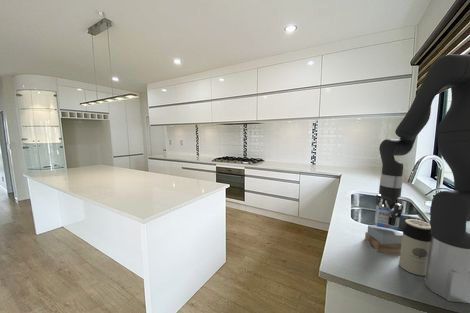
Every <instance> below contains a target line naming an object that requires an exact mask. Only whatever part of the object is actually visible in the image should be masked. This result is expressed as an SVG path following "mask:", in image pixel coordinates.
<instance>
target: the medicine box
mask: <svg viewBox="0 0 470 313" xmlns="http://www.w3.org/2000/svg"><path fill="white" fill-rule="evenodd" d="M391 210H394V208H393V209H391ZM392 214H393V211H392ZM397 215H398V213H397ZM374 216H375V217H374V225H376V226H378V227H383V228H389V229H394V230H396V231H398V230H399V226H400V218H401V217H400V218H396V220H395V225H394V226H392V225H389V224H388V221H389V212H388V211H387V207H385V206H380V205H376V204H375V214H374Z"/></svg>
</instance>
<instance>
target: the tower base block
mask: <svg viewBox="0 0 470 313" xmlns="http://www.w3.org/2000/svg"><path fill="white" fill-rule="evenodd" d="M367 232H368V231H366V232H365V237H364V240H365V241H366V242H367V243H368V244H370V246H371V247H372V248H373V249H374V250H375V251H377V252H378V253H390V254H400V252H401V244H381V243H380V242H378V241H377V240H376V239H374V238H373V237H372V236H370V235H369V234H368V233H367Z"/></svg>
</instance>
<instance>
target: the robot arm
mask: <svg viewBox="0 0 470 313" xmlns="http://www.w3.org/2000/svg"><path fill="white" fill-rule="evenodd" d="M419 86H420V87H419V88H418V90H417V93H416V95H415V98H414V100H413V101H412V103H411V106H410V107H409V109H408V111H407V113H406V114H405V115H404V117H403V118H402V119H401V121H400V123H398V125H397V127H396V129H395V130H394V132H395V133H394V134H395V135H396V136H397V137H398V138H386V139H384V140H382V141H381V143H380V144H379V150H378V151H379V154H380V160H381V164H382V167H381V176H380V180H379V189H378V194H376V196H375V197H376V198H375V203H376V204H375V206H376V205H380V206H385V207H387V211H388V212H389V221H388V224H389V225H392V226H394V225H395V220H396V218H401V217H402V213H403V210H404V204H400V203H399V200H398V199H399V198H401V196H402V190H403V188H402V187H403V174H404V163H403V162H401V161H397V160H396V159H395V157H396V156H399V157H401V156H406V155H408V154H409V153H410V152H411V151H412V149H413V147H414V144H415V142H416V139H417V137H418V135H419V134H420V132H422V130H423V129H424V128H425V126H427V124H428V122H429V120H430V118H431V112H432V110H431V109H432V105H433V104H432V103H433V101H434V99H435V97H436V96H437V95H438V94H439V93H440V91H441V90H442V89H443V88H444V87H450V91H451V101H450V106H449V108H448V110H447V112H446V113H445V114H444V116H443V117H442V119H441V121H439V125H438V126H437V132H436V134H437V149H438V151H439V154H440V155H441V158H442V159H443V160H444V161H445V163H446V164H447V165H448V167H449V169H450V170H451V173H452V177H453V184H454V185H453V186H454V187H453V190H450V189H449V190H440V191H438V192H436V193H435V195H433V197H432V200H431V203H430V213H429V214H430V215H429V224H430V226H431V229H432V230H431V233H432V237H431V243H430V250H429V256H428V263H427V270H426V275H425V279H424V284H425V286H426V287H427V288H428V289H429V290H430V291H431V292H433V293H434V294H436V295H437V294H438V296H440V297H441V298H442V299H445V300H446V301H447V302H455V303H465V304H470V233H469V232H467V222H470V54H445V55H442V56H440V57H438V58H437V59H436V60H435V61H434V62H433V63H432V64H431V65H430V67H429V68H428V70H427V72H426V74H425V75H424V77H423V80H422V82H421V84H420V85H419ZM393 208H394V210H391V209H393ZM392 211H393V214H392ZM397 213H398V215H397Z"/></svg>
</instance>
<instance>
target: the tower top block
mask: <svg viewBox="0 0 470 313" xmlns="http://www.w3.org/2000/svg"><path fill="white" fill-rule="evenodd" d="M366 232H367V233H368V234H369V235H370V236H372V237H373V238H374V239H376V240H377V241H378V242H380V243H381V244H402V236H403V233H400V232H399V231H398V230H395V229H389V228H383V227H378V226H376V224H374V225H373V224H372V225H371V224H370V225H369V224H368V225H367V231H366Z"/></svg>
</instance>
